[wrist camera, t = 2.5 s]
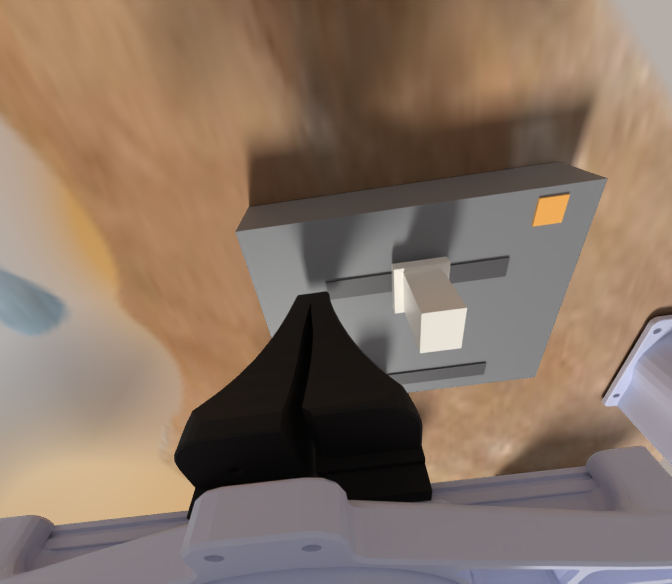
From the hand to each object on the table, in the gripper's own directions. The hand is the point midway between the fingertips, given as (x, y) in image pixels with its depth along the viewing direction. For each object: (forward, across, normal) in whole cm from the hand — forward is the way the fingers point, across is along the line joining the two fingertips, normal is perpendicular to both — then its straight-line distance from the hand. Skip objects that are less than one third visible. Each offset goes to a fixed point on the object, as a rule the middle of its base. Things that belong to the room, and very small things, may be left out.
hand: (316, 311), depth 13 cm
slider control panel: (+4, -5, +2) cm, 7 cm away
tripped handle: (+1, -5, 0) cm, 5 cm away
